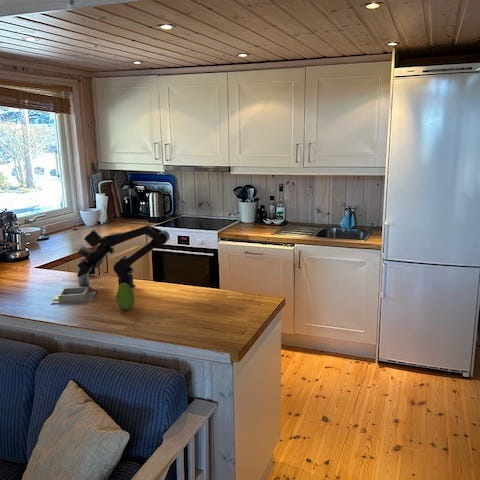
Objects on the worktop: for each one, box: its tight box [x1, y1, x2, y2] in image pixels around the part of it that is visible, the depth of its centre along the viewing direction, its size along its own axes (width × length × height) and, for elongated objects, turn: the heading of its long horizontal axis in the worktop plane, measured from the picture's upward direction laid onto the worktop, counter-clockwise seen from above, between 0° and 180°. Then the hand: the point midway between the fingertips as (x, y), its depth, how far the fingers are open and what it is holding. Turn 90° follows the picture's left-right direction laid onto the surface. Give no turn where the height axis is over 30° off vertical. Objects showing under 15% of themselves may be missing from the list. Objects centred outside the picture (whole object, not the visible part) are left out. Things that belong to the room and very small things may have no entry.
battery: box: [80, 256, 96, 276], centre depth 266 cm, size 4×7×10 cm, turn 114°
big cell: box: [76, 262, 90, 289], centre depth 242 cm, size 5×5×13 cm
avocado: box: [115, 283, 135, 311], centre depth 209 cm, size 8×8×12 cm
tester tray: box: [51, 286, 97, 305], centre depth 226 cm, size 18×13×4 cm
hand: (80, 274), depth 242 cm, fingers open, 6 cm apart
